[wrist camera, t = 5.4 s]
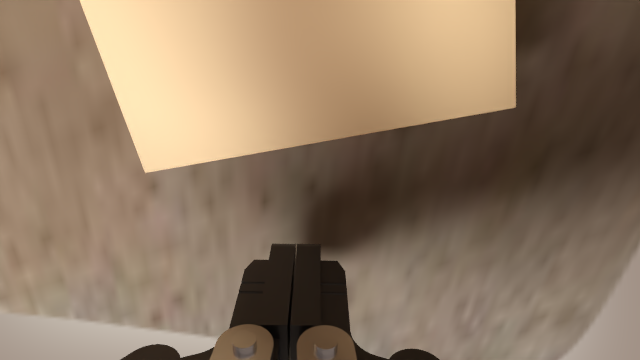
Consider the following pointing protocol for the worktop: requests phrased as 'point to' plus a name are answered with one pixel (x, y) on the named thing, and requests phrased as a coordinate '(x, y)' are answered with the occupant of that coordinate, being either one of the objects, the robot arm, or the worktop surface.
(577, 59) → the worktop surface
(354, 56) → the block
